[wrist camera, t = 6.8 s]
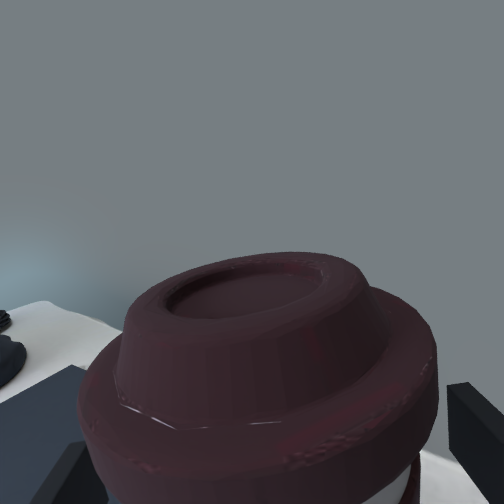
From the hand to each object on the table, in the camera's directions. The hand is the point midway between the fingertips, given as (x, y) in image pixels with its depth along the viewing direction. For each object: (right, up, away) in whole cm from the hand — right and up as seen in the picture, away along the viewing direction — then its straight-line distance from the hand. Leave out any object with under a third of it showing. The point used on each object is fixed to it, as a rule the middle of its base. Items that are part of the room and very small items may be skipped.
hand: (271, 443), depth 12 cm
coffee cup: (+2, -8, +1) cm, 9 cm away
